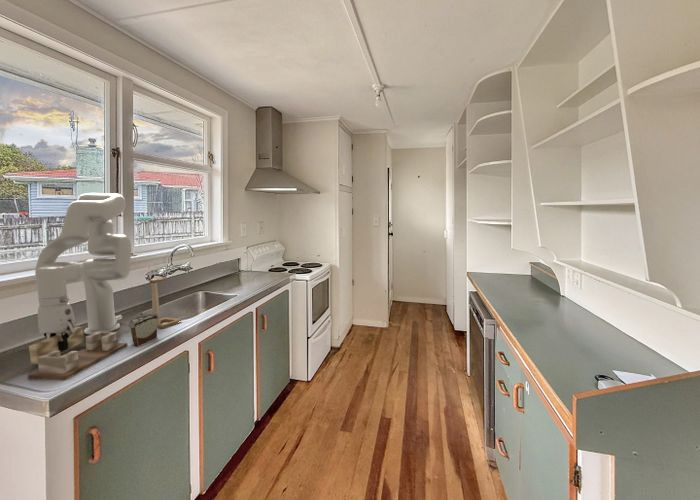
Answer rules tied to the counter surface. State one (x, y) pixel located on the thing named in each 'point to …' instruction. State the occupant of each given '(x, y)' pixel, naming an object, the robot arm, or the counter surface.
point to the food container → (143, 328)
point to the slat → (54, 344)
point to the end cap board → (83, 362)
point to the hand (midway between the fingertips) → (59, 349)
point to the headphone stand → (156, 306)
